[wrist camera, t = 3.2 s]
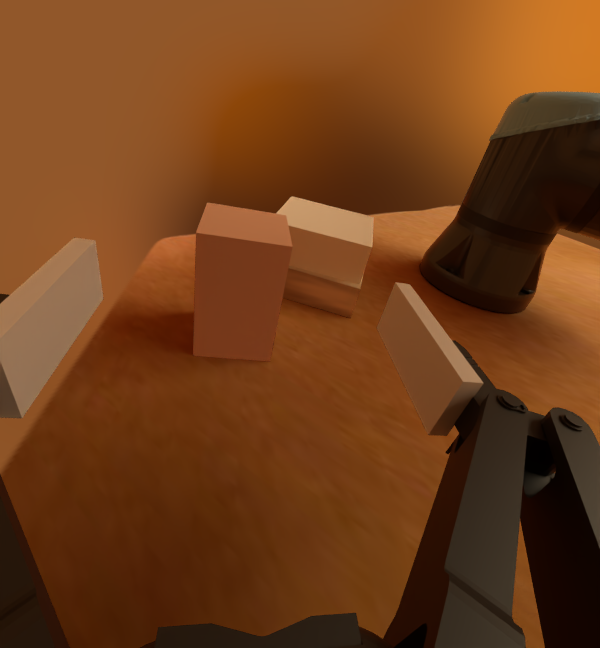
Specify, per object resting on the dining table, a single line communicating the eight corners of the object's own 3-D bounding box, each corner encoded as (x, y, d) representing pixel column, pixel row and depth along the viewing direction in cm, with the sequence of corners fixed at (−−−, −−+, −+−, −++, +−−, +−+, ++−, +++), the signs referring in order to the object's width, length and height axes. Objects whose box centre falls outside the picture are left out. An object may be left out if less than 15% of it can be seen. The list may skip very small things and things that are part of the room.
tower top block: (286, 228, 43) (291, 196, 41) (363, 248, 43) (373, 217, 40) (264, 258, 35) (269, 220, 33) (359, 284, 34) (372, 247, 32)
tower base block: (279, 255, 46) (284, 226, 44) (359, 278, 45) (368, 250, 43) (250, 292, 37) (254, 258, 35) (349, 322, 36) (360, 289, 34)
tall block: (202, 312, 31) (207, 202, 26) (268, 318, 33) (286, 215, 27) (193, 355, 27) (196, 232, 21) (270, 361, 28) (292, 246, 22)
